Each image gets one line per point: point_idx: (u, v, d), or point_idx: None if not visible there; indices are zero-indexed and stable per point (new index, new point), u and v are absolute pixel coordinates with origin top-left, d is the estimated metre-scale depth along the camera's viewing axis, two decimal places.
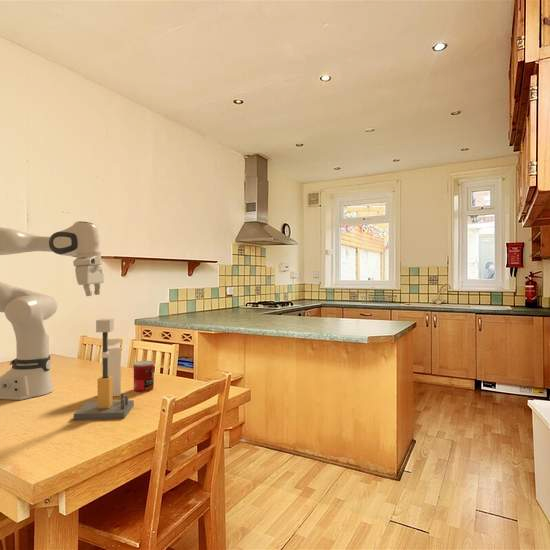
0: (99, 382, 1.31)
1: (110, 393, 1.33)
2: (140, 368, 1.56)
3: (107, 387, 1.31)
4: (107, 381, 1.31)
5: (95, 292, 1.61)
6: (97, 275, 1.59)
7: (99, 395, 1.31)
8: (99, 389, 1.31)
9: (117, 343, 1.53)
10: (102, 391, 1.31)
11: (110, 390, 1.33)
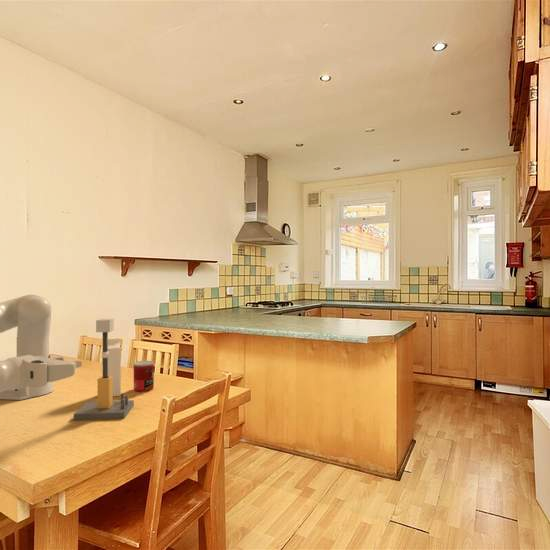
0: (99, 382, 1.31)
1: (110, 393, 1.33)
2: (140, 368, 1.56)
3: (107, 387, 1.31)
4: (107, 381, 1.31)
5: None
6: (41, 360, 1.16)
7: (99, 395, 1.31)
8: (99, 389, 1.31)
9: (117, 343, 1.53)
10: (102, 391, 1.31)
11: (110, 390, 1.33)
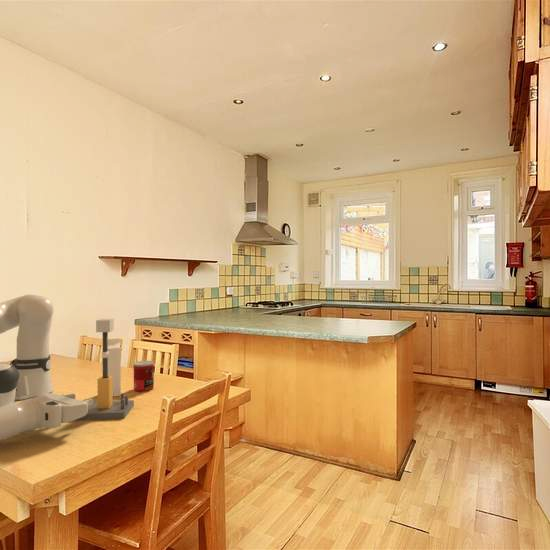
0: (99, 382, 1.31)
1: (110, 393, 1.33)
2: (140, 368, 1.56)
3: (107, 387, 1.31)
4: (107, 381, 1.31)
5: (72, 398, 1.27)
6: (55, 398, 1.20)
7: (99, 395, 1.31)
8: (99, 389, 1.31)
9: (117, 343, 1.53)
10: (102, 391, 1.31)
11: (110, 390, 1.33)
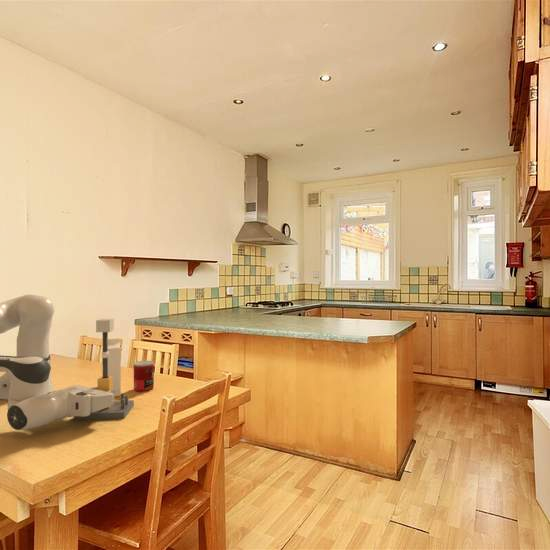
0: (99, 382, 1.31)
1: None
2: (141, 368, 1.56)
3: (107, 387, 1.31)
4: (107, 381, 1.31)
5: None
6: (82, 390, 1.28)
7: None
8: (99, 389, 1.31)
9: (117, 343, 1.53)
10: None
11: None
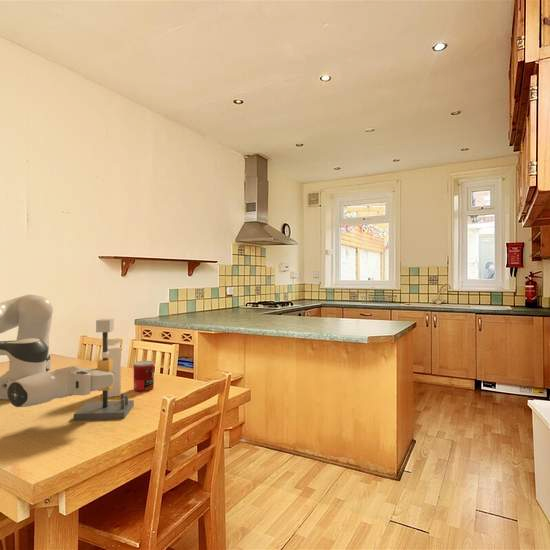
0: (99, 364, 1.31)
1: None
2: (141, 368, 1.56)
3: (107, 369, 1.31)
4: (107, 363, 1.31)
5: None
6: (82, 370, 1.28)
7: None
8: None
9: (117, 343, 1.53)
10: None
11: None
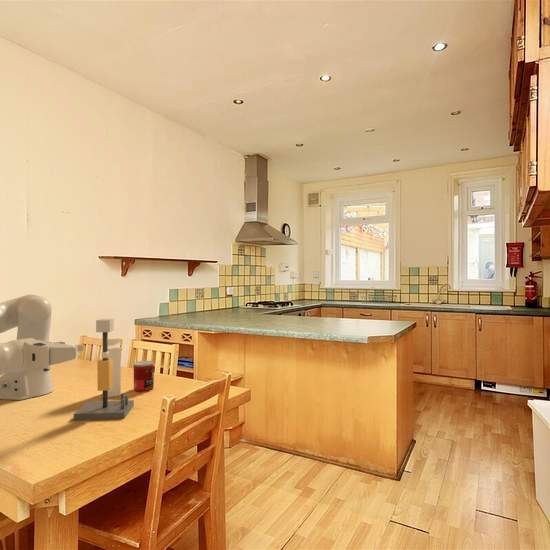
0: (99, 364, 1.31)
1: (110, 376, 1.33)
2: (140, 368, 1.56)
3: (107, 369, 1.31)
4: (107, 363, 1.31)
5: None
6: (43, 343, 1.16)
7: (99, 377, 1.31)
8: (99, 371, 1.31)
9: (117, 343, 1.53)
10: (102, 374, 1.31)
11: (110, 372, 1.33)
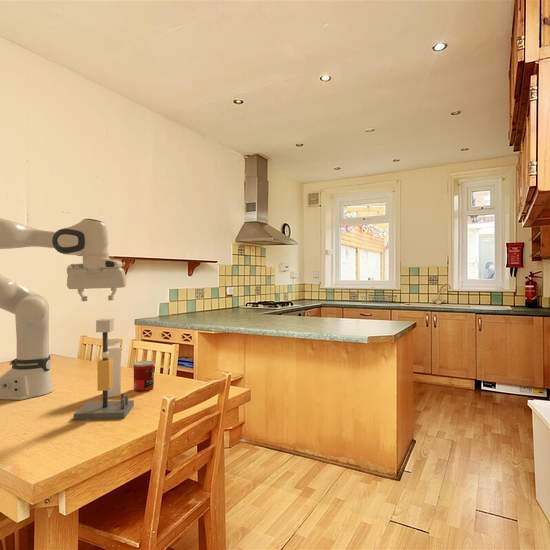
0: (99, 364, 1.31)
1: (110, 376, 1.33)
2: (141, 368, 1.56)
3: (107, 369, 1.31)
4: (107, 363, 1.31)
5: (85, 298, 1.42)
6: None
7: (99, 377, 1.31)
8: (99, 371, 1.31)
9: (117, 343, 1.53)
10: (102, 374, 1.31)
11: (110, 372, 1.33)
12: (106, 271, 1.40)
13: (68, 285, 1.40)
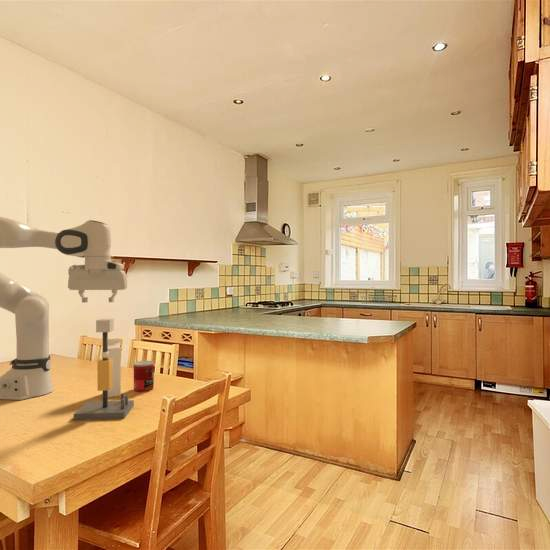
0: (99, 364, 1.31)
1: (110, 376, 1.33)
2: (140, 368, 1.56)
3: (107, 369, 1.31)
4: (107, 363, 1.31)
5: (86, 299, 1.42)
6: None
7: (99, 377, 1.31)
8: (99, 371, 1.31)
9: (117, 343, 1.53)
10: (102, 374, 1.31)
11: (110, 372, 1.33)
12: (108, 272, 1.41)
13: (69, 286, 1.40)
